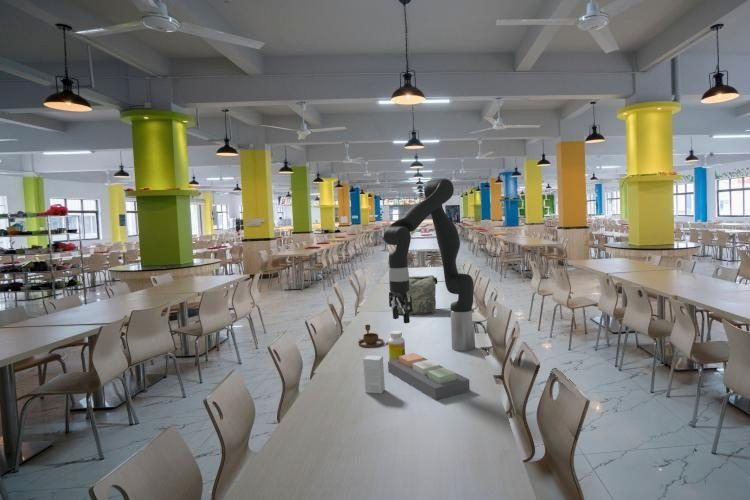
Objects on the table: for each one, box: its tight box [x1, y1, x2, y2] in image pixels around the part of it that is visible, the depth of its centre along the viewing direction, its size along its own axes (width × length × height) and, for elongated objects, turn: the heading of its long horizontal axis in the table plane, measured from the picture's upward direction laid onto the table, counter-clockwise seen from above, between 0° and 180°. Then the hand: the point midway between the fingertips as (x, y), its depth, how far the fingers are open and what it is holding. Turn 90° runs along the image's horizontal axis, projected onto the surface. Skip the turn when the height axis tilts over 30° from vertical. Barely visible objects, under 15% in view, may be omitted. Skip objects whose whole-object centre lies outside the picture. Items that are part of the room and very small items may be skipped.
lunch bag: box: [398, 274, 438, 316], centre depth 281 cm, size 26×18×22 cm
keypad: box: [387, 357, 471, 401], centre depth 170 cm, size 14×32×4 cm, turn 27°
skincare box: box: [362, 355, 386, 394], centre depth 162 cm, size 6×4×12 cm
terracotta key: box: [399, 352, 425, 367], centre depth 178 cm, size 7×7×3 cm
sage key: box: [428, 366, 457, 384], centre depth 161 cm, size 7×7×3 cm
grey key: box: [412, 359, 440, 375], centre depth 170 cm, size 7×7×3 cm
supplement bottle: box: [387, 330, 406, 362], centre depth 190 cm, size 7×7×13 cm
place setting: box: [358, 324, 389, 349], centre depth 223 cm, size 18×20×6 cm
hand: (401, 320), depth 179 cm, fingers open, 8 cm apart
